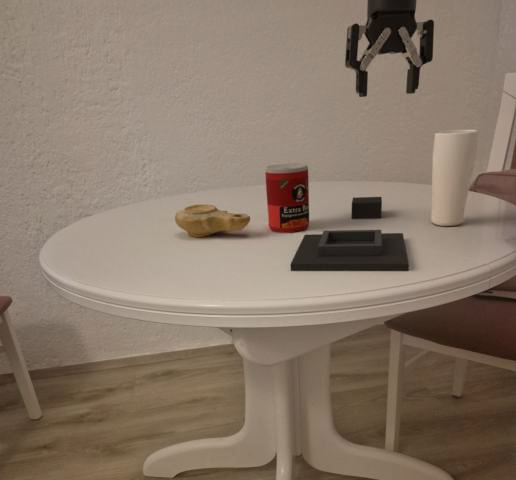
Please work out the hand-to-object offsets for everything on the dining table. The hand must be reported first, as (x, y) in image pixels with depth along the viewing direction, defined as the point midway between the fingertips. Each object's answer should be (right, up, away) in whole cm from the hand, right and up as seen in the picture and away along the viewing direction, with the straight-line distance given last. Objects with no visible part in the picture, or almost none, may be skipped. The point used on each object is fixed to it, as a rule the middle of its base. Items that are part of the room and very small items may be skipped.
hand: (386, 95), depth 82 cm
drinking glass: (+11, -21, +3) cm, 24 cm away
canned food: (-16, -21, +9) cm, 28 cm away
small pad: (-1, -17, +13) cm, 22 cm away
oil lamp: (-30, -22, +8) cm, 38 cm away
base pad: (-8, -29, -9) cm, 31 cm away
